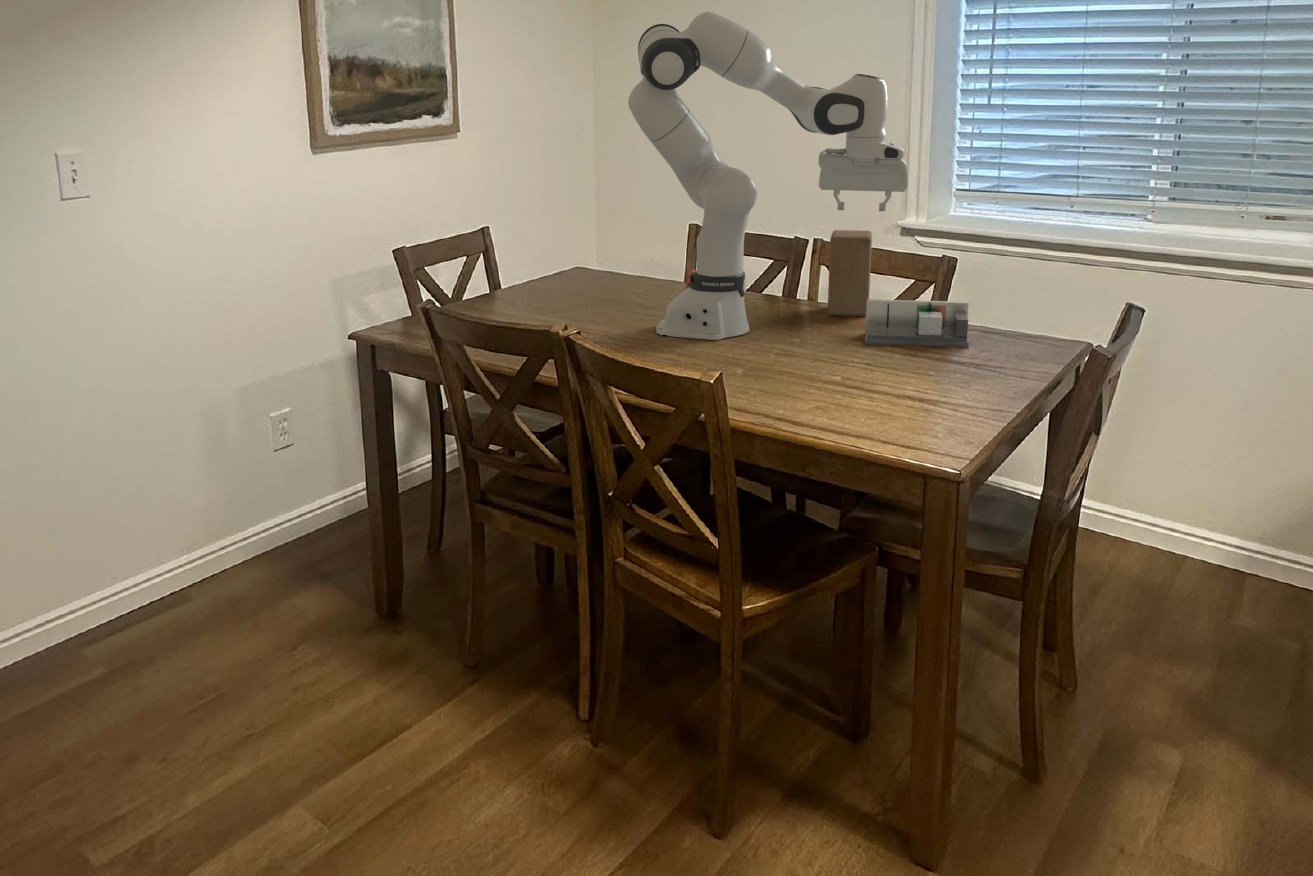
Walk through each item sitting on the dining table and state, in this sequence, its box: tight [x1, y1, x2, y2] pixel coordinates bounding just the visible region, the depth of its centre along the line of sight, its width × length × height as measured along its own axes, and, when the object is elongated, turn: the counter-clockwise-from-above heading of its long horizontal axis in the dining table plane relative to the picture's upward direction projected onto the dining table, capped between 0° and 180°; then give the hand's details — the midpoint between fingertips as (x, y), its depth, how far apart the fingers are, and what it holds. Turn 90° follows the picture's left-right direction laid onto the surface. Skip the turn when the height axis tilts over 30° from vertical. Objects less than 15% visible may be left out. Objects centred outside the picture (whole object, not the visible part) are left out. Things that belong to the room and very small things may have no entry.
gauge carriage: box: [918, 304, 942, 337], centre depth 257 cm, size 5×7×6 cm
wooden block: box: [827, 229, 873, 317], centre depth 282 cm, size 10×10×20 cm
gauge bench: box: [864, 298, 970, 349], centre depth 258 cm, size 23×10×8 cm, turn 79°
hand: (861, 210), depth 260 cm, fingers open, 8 cm apart
